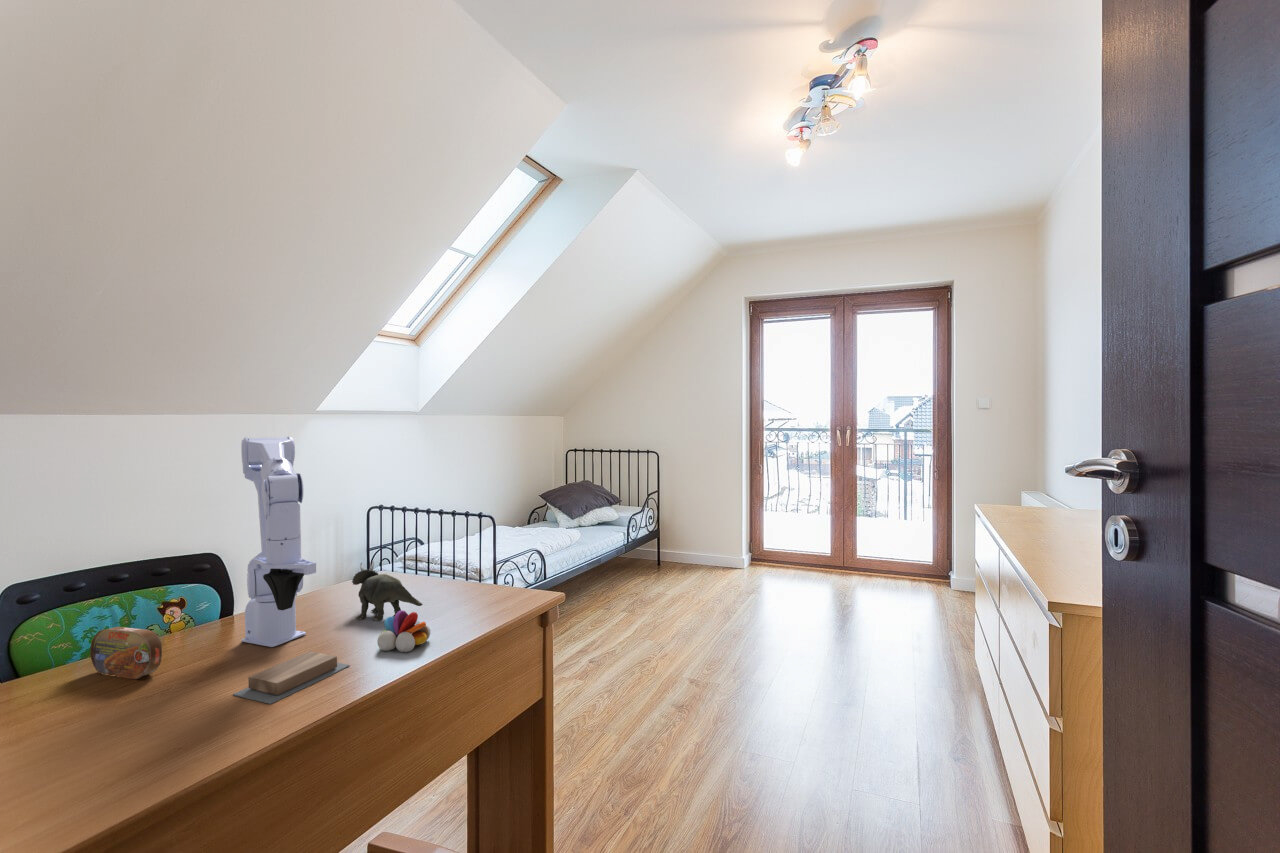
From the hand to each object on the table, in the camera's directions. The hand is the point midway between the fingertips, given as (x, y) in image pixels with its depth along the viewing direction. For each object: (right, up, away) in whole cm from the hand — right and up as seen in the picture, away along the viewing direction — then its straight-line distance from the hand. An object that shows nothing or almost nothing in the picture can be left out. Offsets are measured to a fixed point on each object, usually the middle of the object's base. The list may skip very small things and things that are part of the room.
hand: (285, 608), depth 116 cm
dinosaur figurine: (+7, -10, +26) cm, 29 cm away
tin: (-27, -11, -4) cm, 29 cm away
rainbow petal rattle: (+20, -11, +8) cm, 24 cm away
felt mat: (+6, -11, -7) cm, 14 cm away
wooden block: (+3, -9, -6) cm, 11 cm away
